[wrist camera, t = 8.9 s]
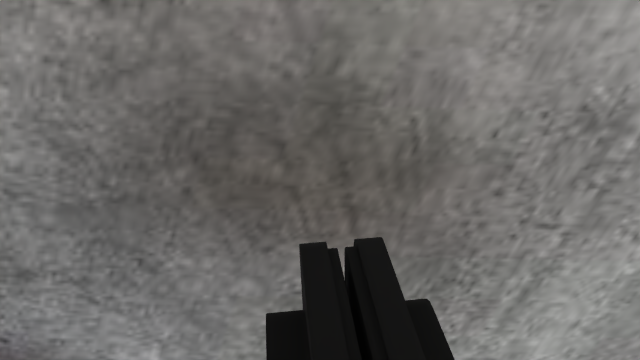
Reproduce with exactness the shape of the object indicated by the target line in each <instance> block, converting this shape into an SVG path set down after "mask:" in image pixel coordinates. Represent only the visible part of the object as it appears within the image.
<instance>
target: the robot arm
mask: <svg viewBox="0 0 640 360" xmlns="http://www.w3.org/2000/svg"><path fill="white" fill-rule="evenodd" d="M299 249H300V266H301V284H302V301H303V310H299V311H288V312H278V313H267V314H266V353H267V360H454V357H453V355H452V353H451V350H450V348H449V345H448V343H447V341H446V338H445V336H444V333H443V331H442V329H441V326H440V324H439V321H438V319H437V317H436V314H435V312H434V309H433V307H432V305H431V303H430V301H429V300H427V299H417V300H406V301H405V299H404V297H403V294H402V291H401V288H400V285H399V283H398V280H397V277H396V274H395V271H394V269H393V266H392V263H391V260H390V257H389V255H388V252H387V249H386V246H385V243H384V241H383V239H382V238H381V237H377V238H365V239H355V240H354V247H345V281H344V276H343V272H342V267H341V262H340V258H339V253H338V249H337V248H331V249H328V248H327V243H326V242H317V243H304V244H299Z"/></svg>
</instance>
